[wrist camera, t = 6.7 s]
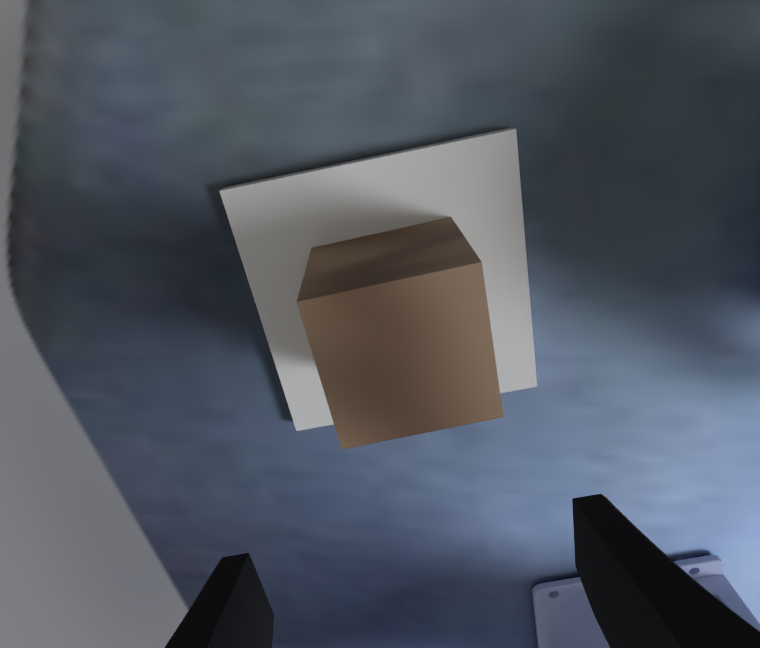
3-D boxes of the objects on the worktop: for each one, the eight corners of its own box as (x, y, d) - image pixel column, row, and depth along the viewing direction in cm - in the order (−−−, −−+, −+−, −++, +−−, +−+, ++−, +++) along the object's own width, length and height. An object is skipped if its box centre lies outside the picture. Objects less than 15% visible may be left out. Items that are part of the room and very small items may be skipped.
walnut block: (451, 216, 18) (481, 261, 14) (471, 342, 20) (503, 417, 16) (311, 247, 19) (296, 302, 14) (345, 368, 21) (341, 449, 16)
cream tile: (511, 127, 18) (516, 128, 17) (532, 378, 22) (537, 386, 21) (223, 187, 18) (219, 190, 18) (297, 422, 22) (296, 431, 22)
